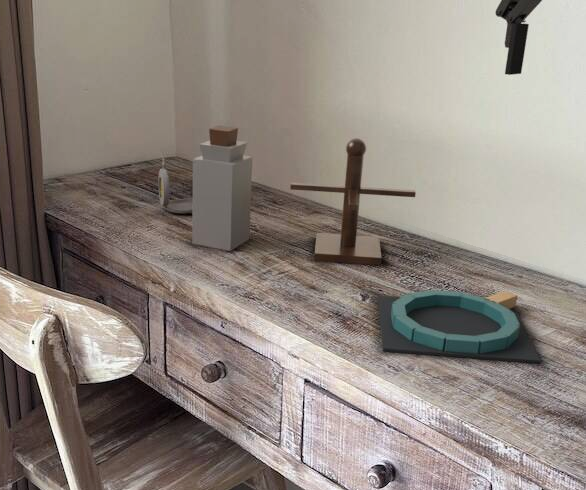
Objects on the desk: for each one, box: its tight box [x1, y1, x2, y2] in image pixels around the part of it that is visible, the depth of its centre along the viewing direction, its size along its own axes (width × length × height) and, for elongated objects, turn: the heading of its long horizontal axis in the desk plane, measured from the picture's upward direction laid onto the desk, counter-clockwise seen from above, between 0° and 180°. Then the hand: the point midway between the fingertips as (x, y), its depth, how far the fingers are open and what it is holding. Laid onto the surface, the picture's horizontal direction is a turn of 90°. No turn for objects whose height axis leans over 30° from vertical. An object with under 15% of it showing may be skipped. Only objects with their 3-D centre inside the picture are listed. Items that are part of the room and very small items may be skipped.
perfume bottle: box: [191, 125, 253, 252], centre depth 126 cm, size 7×7×18 cm
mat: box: [377, 295, 541, 364], centre depth 102 cm, size 18×16×1 cm
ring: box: [391, 289, 520, 354], centre depth 102 cm, size 17×17×2 cm
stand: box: [289, 137, 417, 266], centre depth 124 cm, size 19×19×18 cm
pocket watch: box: [157, 154, 193, 215], centre depth 142 cm, size 8×8×10 cm
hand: (557, 81), depth 106 cm, fingers open, 13 cm apart
